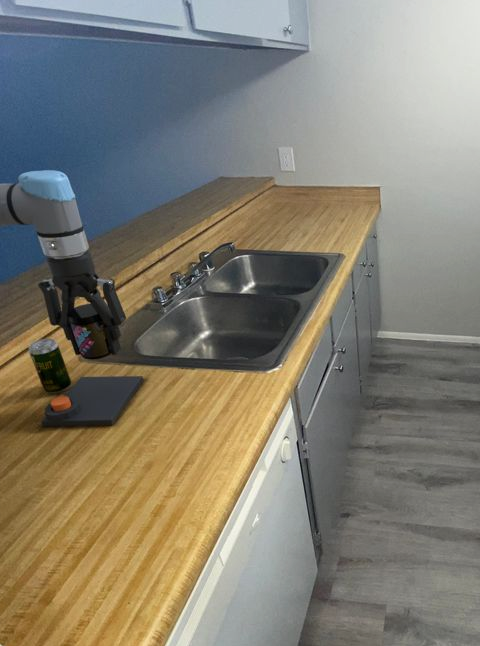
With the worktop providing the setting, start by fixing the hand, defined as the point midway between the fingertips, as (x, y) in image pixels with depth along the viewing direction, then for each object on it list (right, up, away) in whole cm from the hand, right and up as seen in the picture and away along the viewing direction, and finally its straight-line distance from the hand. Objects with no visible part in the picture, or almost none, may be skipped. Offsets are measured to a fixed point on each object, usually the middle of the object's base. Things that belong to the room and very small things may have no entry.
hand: (98, 351), depth 104 cm
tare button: (-6, -12, -3) cm, 13 cm away
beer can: (-14, -9, +7) cm, 18 cm away
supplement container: (0, 0, 0) cm, 1 cm away
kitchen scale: (-2, -12, +3) cm, 12 cm away
